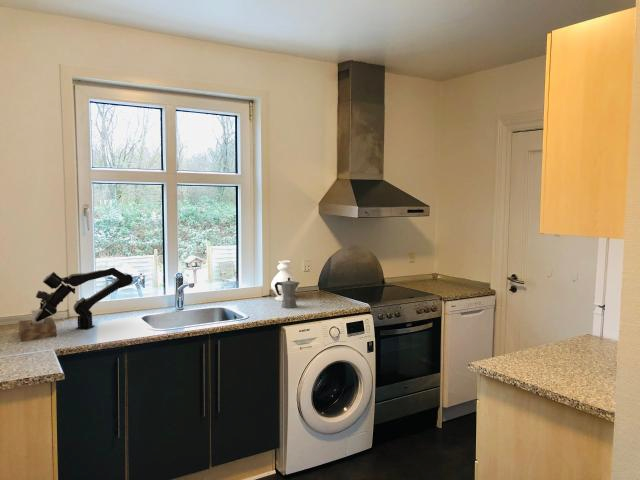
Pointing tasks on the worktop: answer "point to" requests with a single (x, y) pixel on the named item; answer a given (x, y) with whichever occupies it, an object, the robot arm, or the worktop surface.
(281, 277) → the decorative vase
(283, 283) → the coffeepot
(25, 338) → the walnut pocket block
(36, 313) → the aluminium bar
